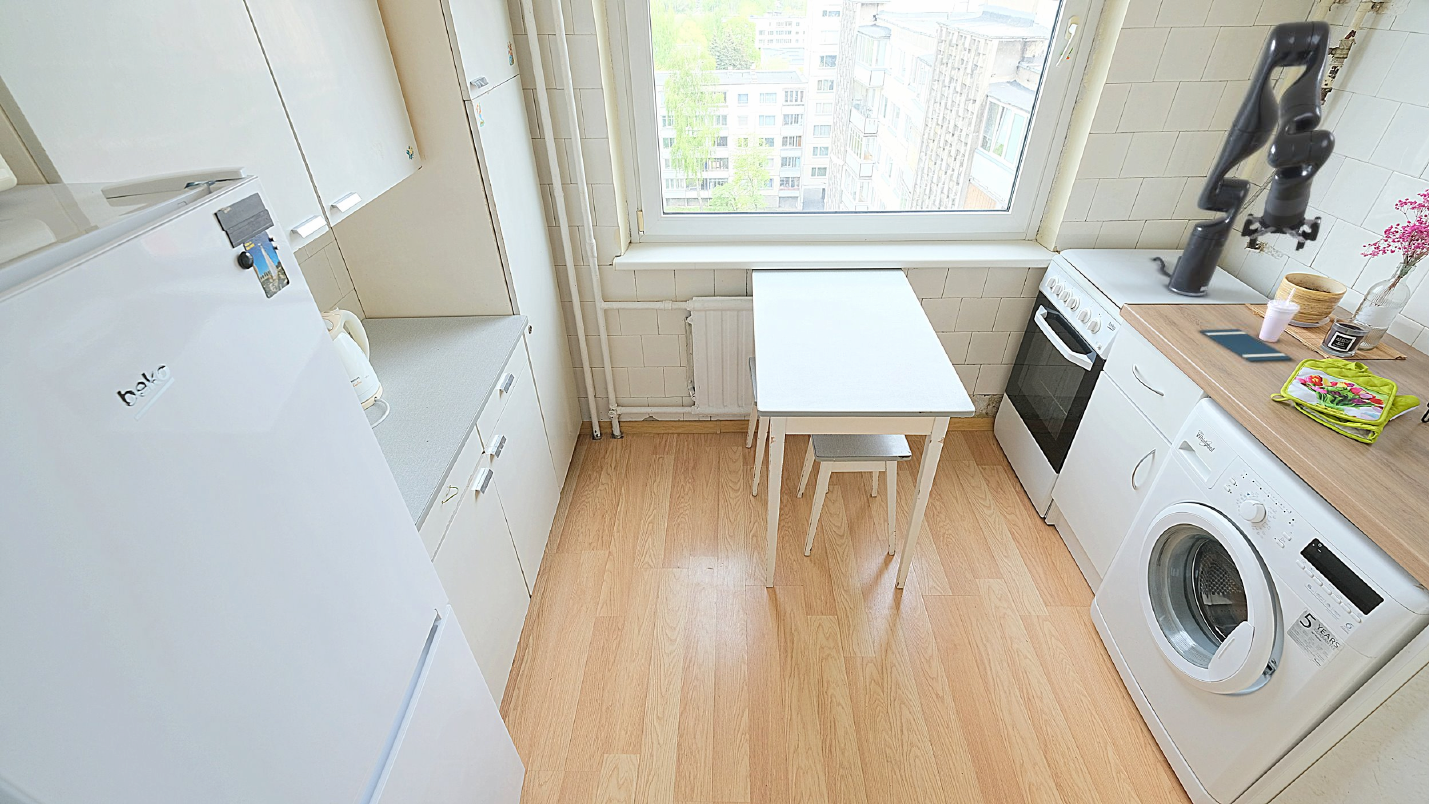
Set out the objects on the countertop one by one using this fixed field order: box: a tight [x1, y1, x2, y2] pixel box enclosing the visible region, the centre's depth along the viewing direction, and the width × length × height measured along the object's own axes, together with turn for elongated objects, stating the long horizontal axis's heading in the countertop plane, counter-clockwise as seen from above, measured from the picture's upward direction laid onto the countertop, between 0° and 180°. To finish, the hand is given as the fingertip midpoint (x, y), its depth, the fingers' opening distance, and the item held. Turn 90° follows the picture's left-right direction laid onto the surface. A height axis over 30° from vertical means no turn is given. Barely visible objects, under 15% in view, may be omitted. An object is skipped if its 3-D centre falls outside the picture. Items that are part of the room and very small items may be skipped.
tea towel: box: [1200, 328, 1293, 362], centre depth 162 cm, size 17×10×1 cm, turn 4°
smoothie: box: [1258, 287, 1301, 343], centre depth 162 cm, size 6×6×14 cm
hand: (1275, 246), depth 160 cm, fingers open, 8 cm apart
